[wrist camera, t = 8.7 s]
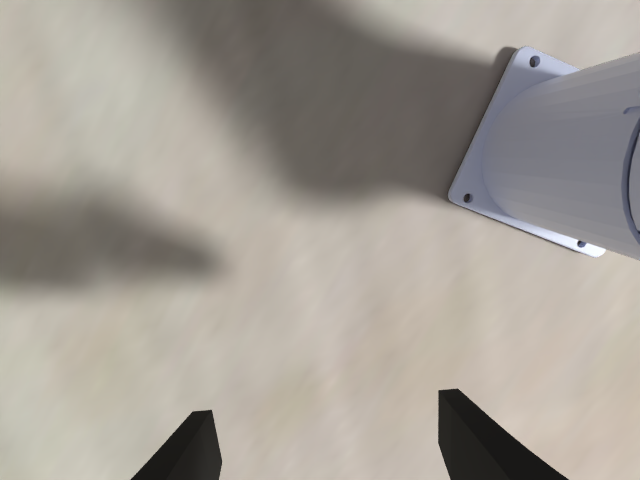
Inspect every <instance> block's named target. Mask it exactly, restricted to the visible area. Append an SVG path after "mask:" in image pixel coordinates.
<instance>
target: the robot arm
mask: <svg viewBox="0 0 640 480" xmlns="http://www.w3.org/2000/svg"><path fill="white" fill-rule="evenodd" d="M531 58H533V59H534V60H535V66H534V67H531V66H530V64H529V61H530V59H531ZM467 193H469V195H470V199H469V200H468V201H467V202H464V200H463V198H464V196H465V194H467ZM448 198H449V200H450V201H451V202H452V203H455V204H457V205H460V206H462V207H465V208H467V209H470V210H473V211H475V212H478V213H480V214H483V215H485V216H488V217H491V218H493V219H496V220H498V221H501V222H503V223H506V224H509V225H511V226H514V227H516V228H519V229H521V230H524V231H526V232H529V233H532V234H534V235H537V236H539V237H542V238H544V239H547V240H550V241H552V242H555V243H557V244H560V245H562V246H565V247H567V248H570V249H573V250H575V251H578V252H580V253H583V254H585V255H588V256H591V257H599V256H601V255H602V254H603V253H604V252H605V250H606V249H607V250H610V251H613V252H616V253H619V254H622V255H625V256H628V257H631V258H634V259H637V260H640V52H638V53H635V54H632V55H629V56H625V57H622V58H619V59H615V60H612V61H609V62H606V63H602V64H599V65H596V66H593V67H589V68H586V69H583V70H580V69H578V68H576V67H573V66H571V65H569V64H567V63H565V62H562V61H560V60H558V59H556V58H554V57H551V56H549V55H547V54H545V53H543V52H541V51H538V50H536V49H534V48H532V47H529V46H524V47H521V48H519V49H518V50H516V51H515V52H514V54H513V55H512V57H511V59H510V61H509V63H508V66H507V68H506V70H505V72H504V74H503V76H502V78H501V81H500V83H499V85H498V87H497V89H496V91H495V93H494V95H493V98H492V100H491V102H490V104H489V106H488V108H487V110H486V113H485V115H484V117H483V119H482V121H481V123H480V125H479V127H478V130H477V132H476V134H475V136H474V138H473V140H472V142H471V144H470V147H469V149H468V151H467V153H466V155H465V157H464V159H463V162H462V164H461V166H460V168H459V170H458V172H457V174H456V176H455V179H454V181H453V183H452V185H451V187H450V189H449V192H448ZM579 240H580V241H581V243H580V244H579V245H577V242H578V241H579ZM438 443H439V446H440V450H441V453H442V456H443V459H444V462H445V465H446V467H447V470H448V473H449V476H450V479H451V480H569V479H567V478H566V477H564V476H563V475H562V474H560V473H559V472H557V471H556V470H555V469H553V468H552V467H551V466H549V465H548V464H547V463H545V462H544V461H543V460H541V459H540V458H539V457H538V456H536V455H535V454H534V453H532V452H531V451H530V450H528V449H527V448H526V447H525V446H523V445H522V444H521V443H520V442H519V441H517V440H516V439H515V438H514V437H513V436H511V435H510V434H509V433H508V432H507V431H505V430H504V429H503V428H502V427H501V426H500V425H498V424H497V423H496V422H495V421H494V420H493V419H491V418H490V417H489V416H488V415H487V414H486V413H485V412H484V411H482V410H481V409H480V408H479V407H478V406H477V405H476V404H475V403H473V402H472V401H471V400H470V399H469V398H468V397H467V396H466V395H464V394H463V393H462V392H461V391H460V390H459V389H449V390H439V421H438ZM221 466H222V458H221V453H220V448H219V443H218V438H217V433H216V428H215V423H214V418H213V413H212V410H206V411H194V412H192V413H191V414H190V415H189V416H188V417H187V418H186V420H185V421H184V422H183V423H182V424H181V425H180V426H179V427H178V428H177V430H176V431H175V432H174V433H173V434H172V435H171V436H170V437H169V439H168V440H167V441H166V442H165V443H164V444H163V445H162V446H161V448H160V449H159V450H158V451H157V452H156V453H155V454H154V455H153V456H152V457H151V458H150V460H149V461H148V462H147V463H146V464H145V465H144V466H143V467H142V468H141V469H140V470H139V471H138V473H137V474H136V475H135V476H134V477H133V478H132V479H131V480H219V476H220V471H221Z"/></svg>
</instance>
